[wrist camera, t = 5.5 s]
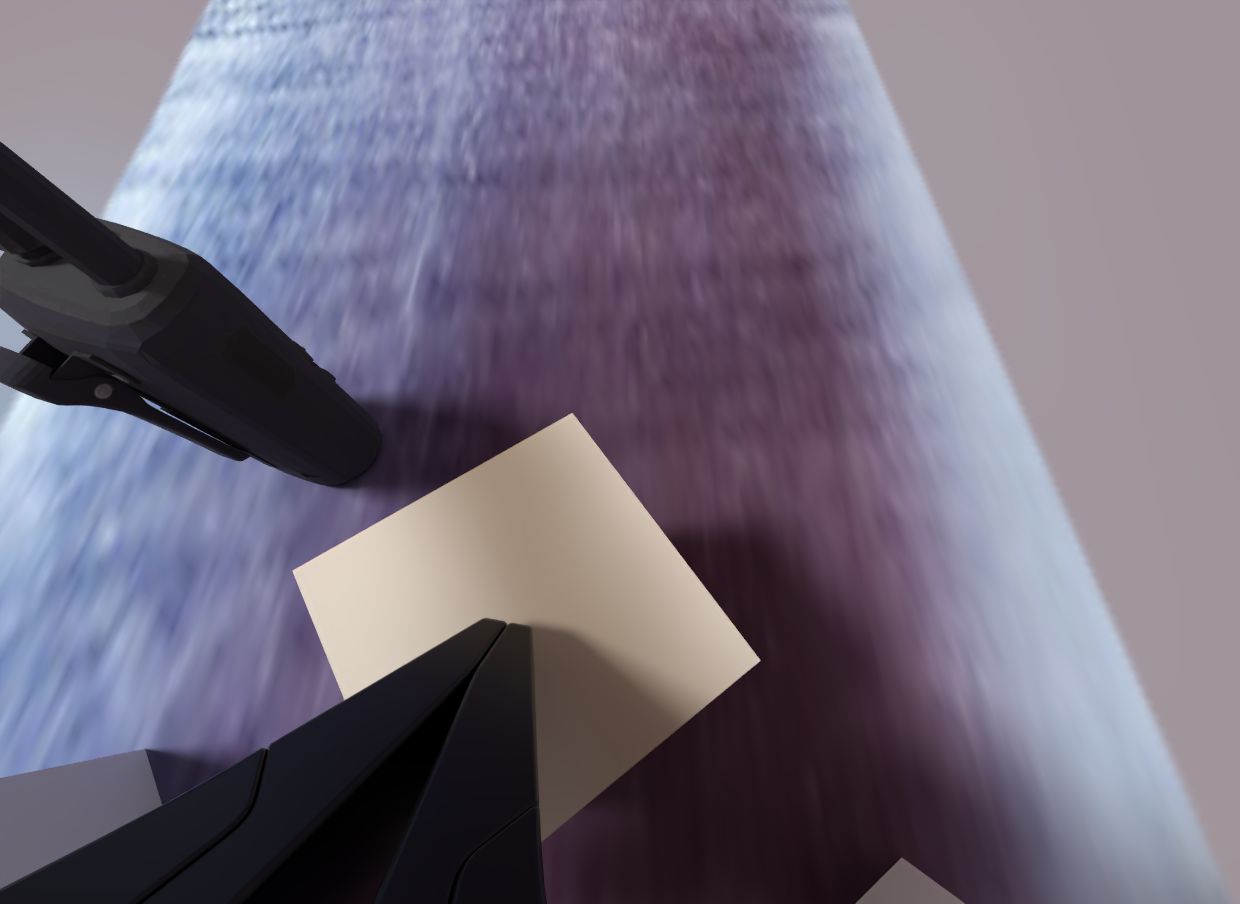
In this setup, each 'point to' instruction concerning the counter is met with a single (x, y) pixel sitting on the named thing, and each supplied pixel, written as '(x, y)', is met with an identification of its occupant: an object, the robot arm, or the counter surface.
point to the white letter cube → (69, 808)
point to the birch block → (539, 605)
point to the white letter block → (907, 888)
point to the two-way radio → (162, 339)
